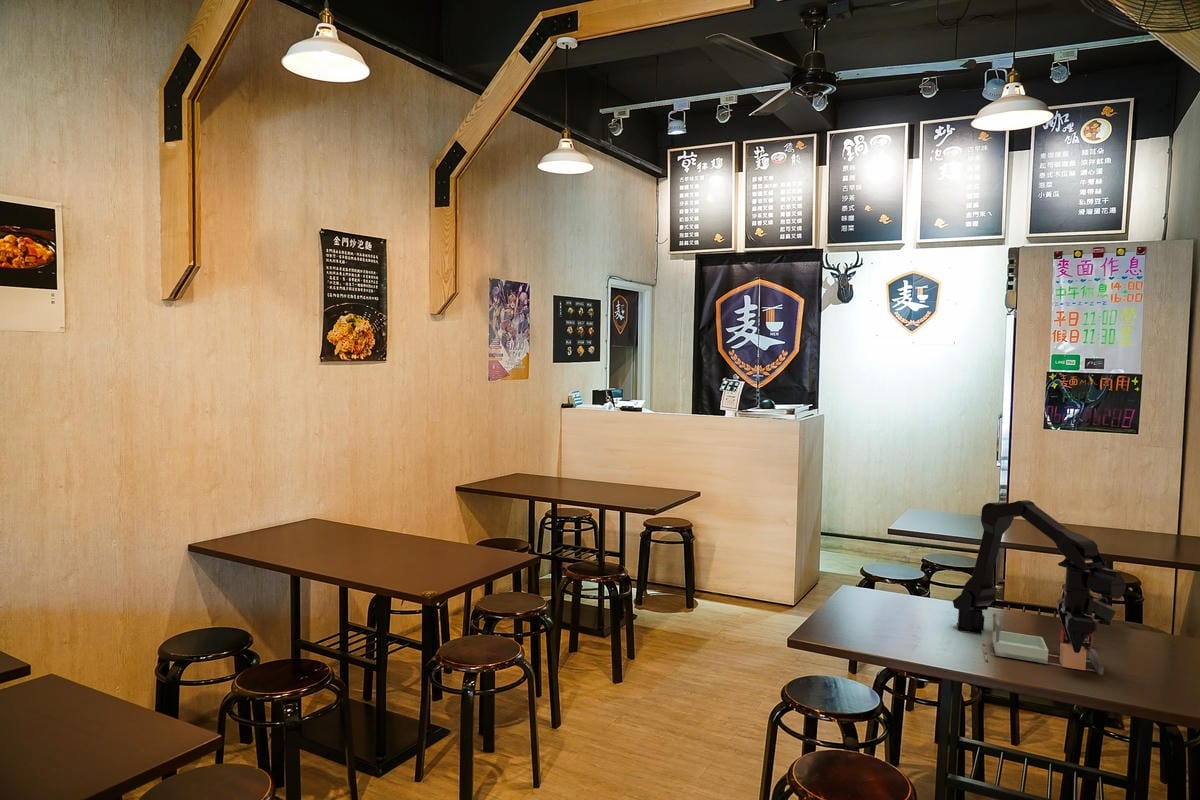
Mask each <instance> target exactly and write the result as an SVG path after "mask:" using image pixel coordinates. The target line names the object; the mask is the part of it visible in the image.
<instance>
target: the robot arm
mask: <svg viewBox="0 0 1200 800" xmlns="http://www.w3.org/2000/svg"><path fill="white" fill-rule="evenodd" d="M1018 517H1021V518H1023V519H1024V520H1025V521H1027V522H1028V523H1029V524H1030V525H1032V526H1033V527H1034V528H1035V529H1036V530H1038V531H1039V532H1041V533H1042V534H1043V535H1044V536H1046V538H1048V539H1049V540H1051V541H1053V543H1054V544H1055V546H1056V548H1057V549H1058V552H1060V554H1061V555H1063V557H1064V559H1063V560H1062V561H1060V562H1058V564H1057V565H1058V566H1059V567H1062V568H1065V569H1066V570H1065V580H1064V586H1063V589H1062V592H1063V593H1064V595H1063V598H1062V597H1060V598H1058V599H1057V600H1056V608H1055V609H1057V611H1056V612H1057V613H1058V616H1059V619H1060V622H1061V623H1062V625H1063V628H1064V631H1065V634H1066V637H1067V639H1068V641H1071V644H1072V647H1073V650H1074V652H1075V653H1079V652H1080V650H1081V647H1082V645H1083V642H1084V640H1085V638H1086V636H1087V635H1089V634H1091V633H1093V634H1094V633H1095V632H1097V631H1098V630H1097V629H1098V628H1097V627H1098V623H1097V622H1096V621H1095V618H1094V619H1093V618H1092V617H1091V616H1093V614H1094V616H1095V615H1096V616H1097V617H1100V618H1102V619H1104V620H1105V621H1106V622H1109V623H1112V621H1113V619H1114V617H1115V616H1116V613H1117V610H1116V609H1115V607H1114V606H1112V605H1111V604H1109V600H1108V599H1107V598H1106V597H1109V598H1112V599H1114V600H1119V599H1121V598H1122V597H1123V596H1124V595H1125V591H1126V589H1127V583H1126V581H1125V578H1124V577H1122V571H1121V570H1116V569H1110V568H1108V565H1107V564H1106V562H1105V559H1104V558H1103V557H1102V555H1101V553H1100V551H1099V549H1098V548H1099V547H1098V544H1097V543H1096V542H1095V541H1094V540H1093V539H1090V538H1089V537H1087V536H1085V535H1084V534H1081V533H1078V532H1075V531H1072V530H1070V529H1069V528H1067V527H1066V526H1064V525H1063V524H1061V523H1060V522H1058V521H1057V520H1056V519H1055V518H1053V517H1052V516H1051V515H1049V514H1048V513H1046V512H1045V511H1044V510H1043V509H1041V508H1040V507H1038V506H1037V505H1036V504H1035V503H1034V502H1033V501H1032V500H1017V501H1014V502H1006V501H1001V502H997V501H996V502H988V503H985V504H983V506H982V508H981V516H980V522H981V525H982V529H983V533H982V535H981V541H980V544H979V548H978V553H977V555H976V562H975V565H974V569H973V573H972V576H971V577H970V578H969V579H968V580H967V581H966V582H965V583H964V586H963V589H962V590H961V594H960V595H958V596H957V597H955V599H953V600H952V604H953V608H954V609H957V610H958V614H957V623H956V628H957V631H960V632H966V633H971V634H979V635H983V632H982V631H984V630H985V629H984V628H985V615H984V613H983V611H987V610H988V609H989V607H990V605H992V604H993V602H994V601H996V595H997V592H998V587H996V586H994V584H993V580H992V578H993V574H994V570H995V567H996V563H997V559H998V554H999V550H1000V547H1001V542H1002V539H1003V538H1002V537H1003V535H1004V534H1005V532H1006V531H1007V530H1008V529H1009V528H1010V526H1011V525H1012V523H1013V521H1014V518H1018ZM1092 592H1093V593H1096V594H1099V595H1101V596H1099V597H1097V598H1095V597H1094V595H1093V594H1092ZM1104 596H1105V597H1104ZM1085 614H1086V615H1085ZM1087 615H1090V616H1087Z"/></svg>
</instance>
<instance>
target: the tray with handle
mask: <svg viewBox="0 0 1200 800" xmlns="http://www.w3.org/2000/svg"><path fill="white" fill-rule="evenodd" d="M992 617H993V619H992V620H993V623H992V639H991V642H992V645H993V646H992V647H993V651H994V654H995V655H994V656H997V657H1000V658H1004V657H1005V658H1011V659H1016V660H1021V661H1029V662H1034V663H1038V664H1041V665H1042V664H1047V662H1048V661H1049V660H1048V659H1049V655H1048V654H1049V648H1048V647H1047V644H1046V643H1045V640H1044V638H1043V637H1042V636H1038V635H1037V636H1036V635H1029V634H1023V633H1019V632H1018V633H1017V632H1011V631H1002V630H1001V629H1002V625H1001V622H1000V618H999V616H998V614H997V613H995V612H994V613H993V614H992ZM1048 663H1049V662H1048ZM1047 665H1048V664H1047Z"/></svg>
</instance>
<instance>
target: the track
mask: <svg viewBox="0 0 1200 800" xmlns="http://www.w3.org/2000/svg"><path fill="white" fill-rule="evenodd" d="M980 643H981V647H982V652H983V657H984V661H985V663H986V662H987V663H988V664H989V662H990V661H989V659H988V655H993V656H996V655H995V653H993V652H992V653H991V652H988V651H987V649H986V646H988V647H993V644H986V643H985V641H984V639H981V640H980ZM1050 656H1051V657H1054V658H1055V657H1056V658H1060V655H1056V654H1055V655H1054V654H1049V653H1048V657H1050ZM1088 658H1089V659H1088V660H1087V659H1086V663H1087V662H1088V663H1091V664H1092V666H1093V668H1094V669H1091V668H1086V670H1085V671H1091V672H1096V673H1097V675H1098V676H1104V672H1105V671H1104V670H1105V669H1104V668H1105V664H1104V662H1103V661H1102V659H1101V658H1100V656H1099V654H1098V653H1097V651H1096V649H1094V648H1091V649H1089V656H1088ZM1048 664H1049V665H1054V666H1060V667H1063V666H1062V665H1061V663H1060V664H1059V663H1054V662H1047V665H1048Z"/></svg>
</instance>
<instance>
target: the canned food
mask: <svg viewBox="0 0 1200 800" xmlns="http://www.w3.org/2000/svg"><path fill="white" fill-rule="evenodd" d="M1085 615H1086V614H1085ZM1087 616H1090V615H1087ZM1091 617H1092V618H1093V619H1094V620H1095V614H1093V616H1091ZM1060 627H1061V628H1060V640H1059V641H1060V644H1061V643H1063V644H1069V645H1072V644H1071V641H1068V639H1067V637H1066V634H1065V631H1064V628H1063V625H1062V622H1061V625H1060ZM1093 638H1094V633H1091V634H1089V635H1087V636H1086V638H1085V640H1084V642H1083V645H1082V647H1083V648H1084V649H1085V650H1086V651H1087V650H1090V649H1093Z"/></svg>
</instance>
